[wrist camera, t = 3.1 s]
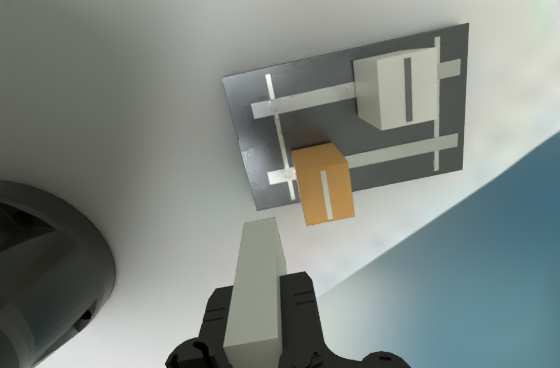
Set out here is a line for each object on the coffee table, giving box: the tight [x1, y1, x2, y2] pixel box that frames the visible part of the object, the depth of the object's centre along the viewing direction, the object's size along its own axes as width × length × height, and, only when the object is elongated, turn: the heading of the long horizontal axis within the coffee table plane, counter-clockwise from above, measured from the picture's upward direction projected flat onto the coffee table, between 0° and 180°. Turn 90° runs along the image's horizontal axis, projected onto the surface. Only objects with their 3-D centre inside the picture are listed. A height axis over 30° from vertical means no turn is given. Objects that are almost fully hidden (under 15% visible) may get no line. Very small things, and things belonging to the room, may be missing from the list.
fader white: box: [353, 47, 437, 131], centre depth 17 cm, size 3×4×4 cm
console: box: [221, 23, 469, 211], centre depth 21 cm, size 16×10×2 cm, turn 101°
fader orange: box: [291, 143, 355, 226], centre depth 19 cm, size 3×4×4 cm
